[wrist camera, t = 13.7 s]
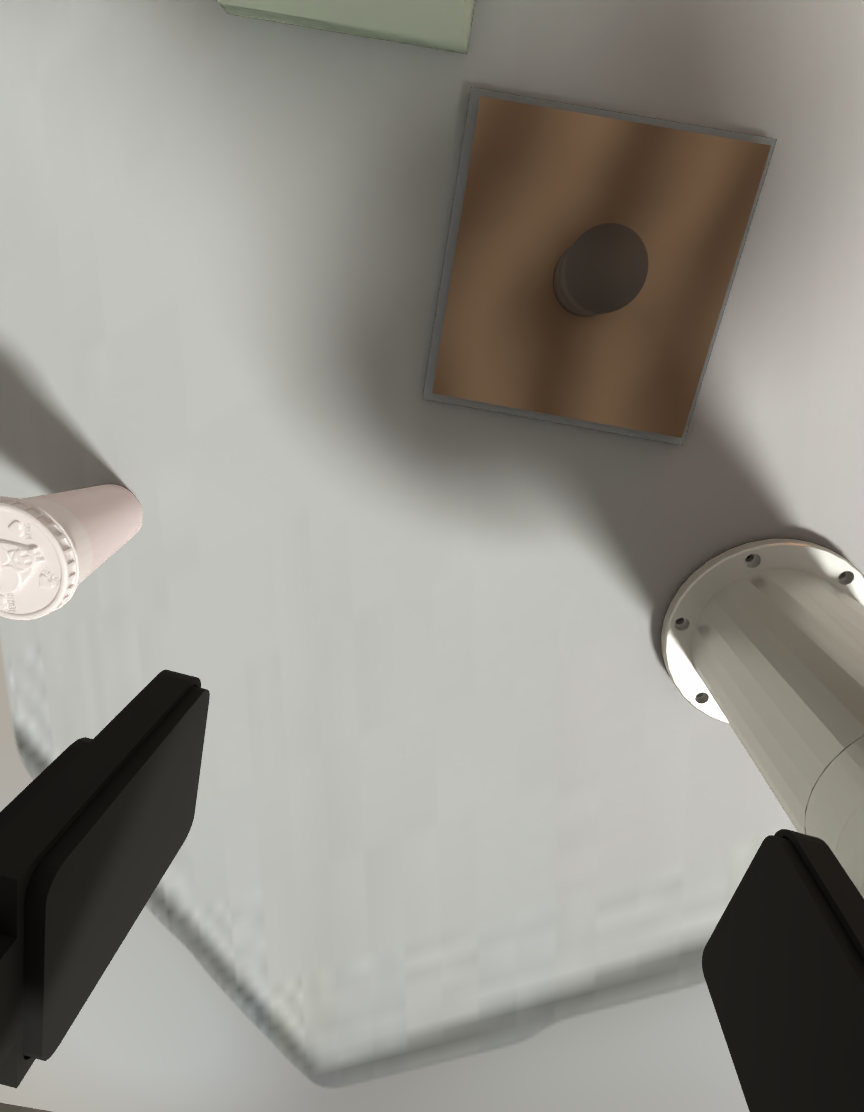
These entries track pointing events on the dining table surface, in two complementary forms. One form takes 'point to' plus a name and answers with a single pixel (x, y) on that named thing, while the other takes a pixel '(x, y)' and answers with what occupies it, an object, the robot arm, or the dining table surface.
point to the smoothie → (59, 544)
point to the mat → (453, 236)
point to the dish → (372, 18)
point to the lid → (592, 264)
